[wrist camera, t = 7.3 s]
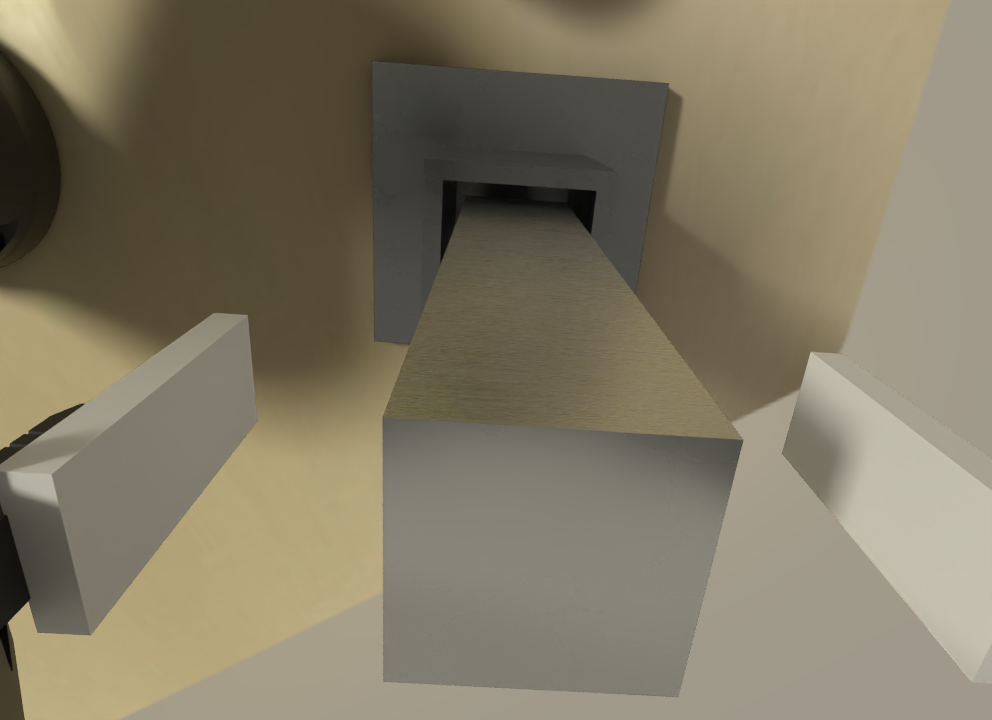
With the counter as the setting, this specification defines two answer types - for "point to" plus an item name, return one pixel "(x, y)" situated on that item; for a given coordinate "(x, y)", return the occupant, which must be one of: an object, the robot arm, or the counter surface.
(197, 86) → the counter surface
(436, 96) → the stand
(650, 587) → the column
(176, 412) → the robot arm
